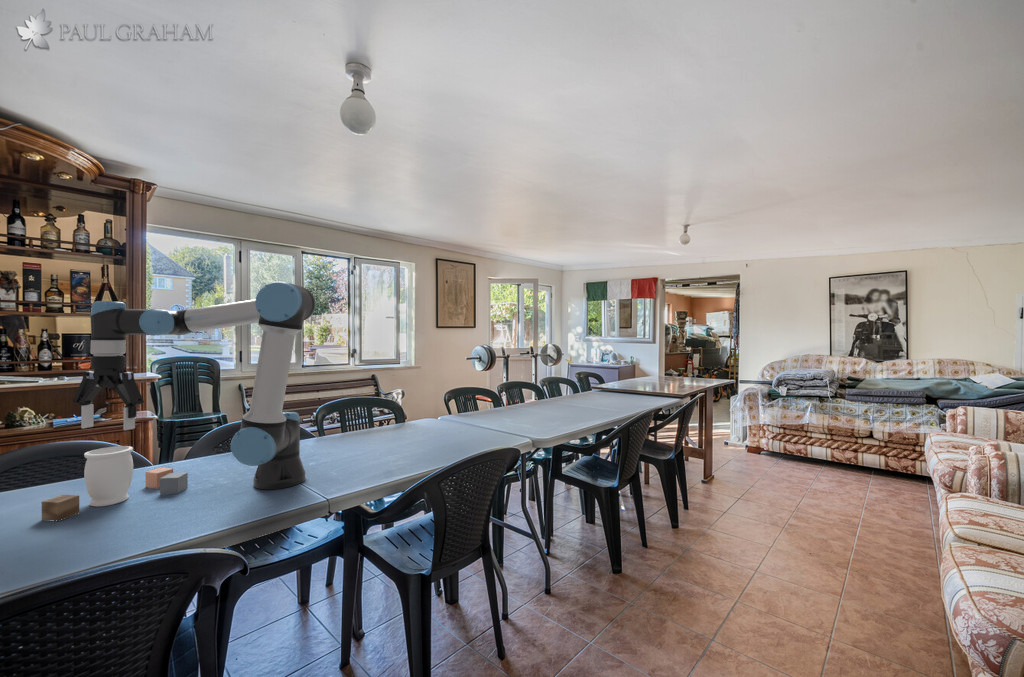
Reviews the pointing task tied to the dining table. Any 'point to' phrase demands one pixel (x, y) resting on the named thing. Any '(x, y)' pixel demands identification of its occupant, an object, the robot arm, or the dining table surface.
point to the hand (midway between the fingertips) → (108, 428)
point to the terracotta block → (156, 476)
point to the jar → (108, 474)
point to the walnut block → (60, 507)
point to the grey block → (173, 483)
